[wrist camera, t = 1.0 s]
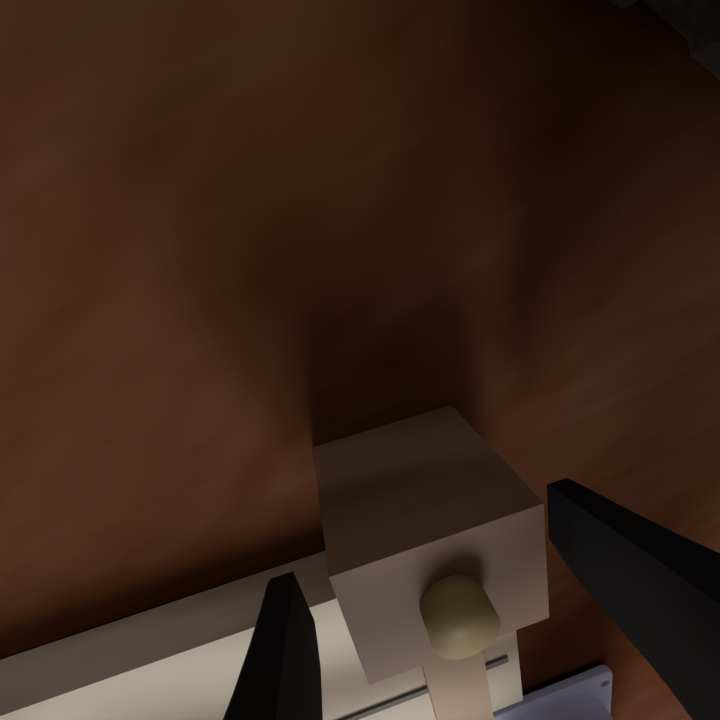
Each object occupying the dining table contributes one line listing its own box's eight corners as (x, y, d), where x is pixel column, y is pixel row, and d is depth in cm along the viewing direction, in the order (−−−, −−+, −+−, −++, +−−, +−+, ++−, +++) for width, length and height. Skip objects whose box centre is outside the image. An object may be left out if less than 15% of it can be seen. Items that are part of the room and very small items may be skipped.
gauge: (484, 621, 17) (573, 799, 12) (383, 659, 17) (429, 860, 11) (450, 404, 13) (568, 530, 7) (312, 446, 12) (333, 614, 7)
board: (499, 652, 18) (524, 702, 16) (85, 809, 16) (58, 888, 14) (478, 499, 14) (508, 541, 13) (-61, 680, 13) (-125, 763, 11)
